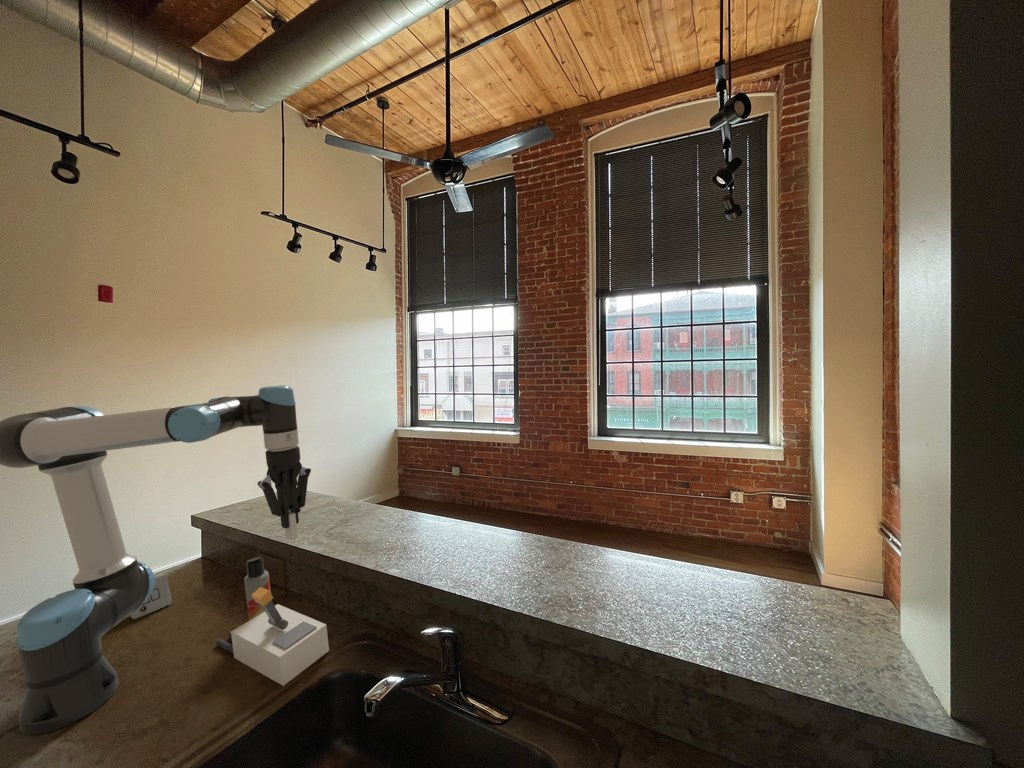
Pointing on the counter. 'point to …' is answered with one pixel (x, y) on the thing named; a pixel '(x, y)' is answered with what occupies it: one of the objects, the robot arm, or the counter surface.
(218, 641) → the parallel rod pair
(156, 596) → the electrical switch
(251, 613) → the lotion bottle
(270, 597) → the lever
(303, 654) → the block
